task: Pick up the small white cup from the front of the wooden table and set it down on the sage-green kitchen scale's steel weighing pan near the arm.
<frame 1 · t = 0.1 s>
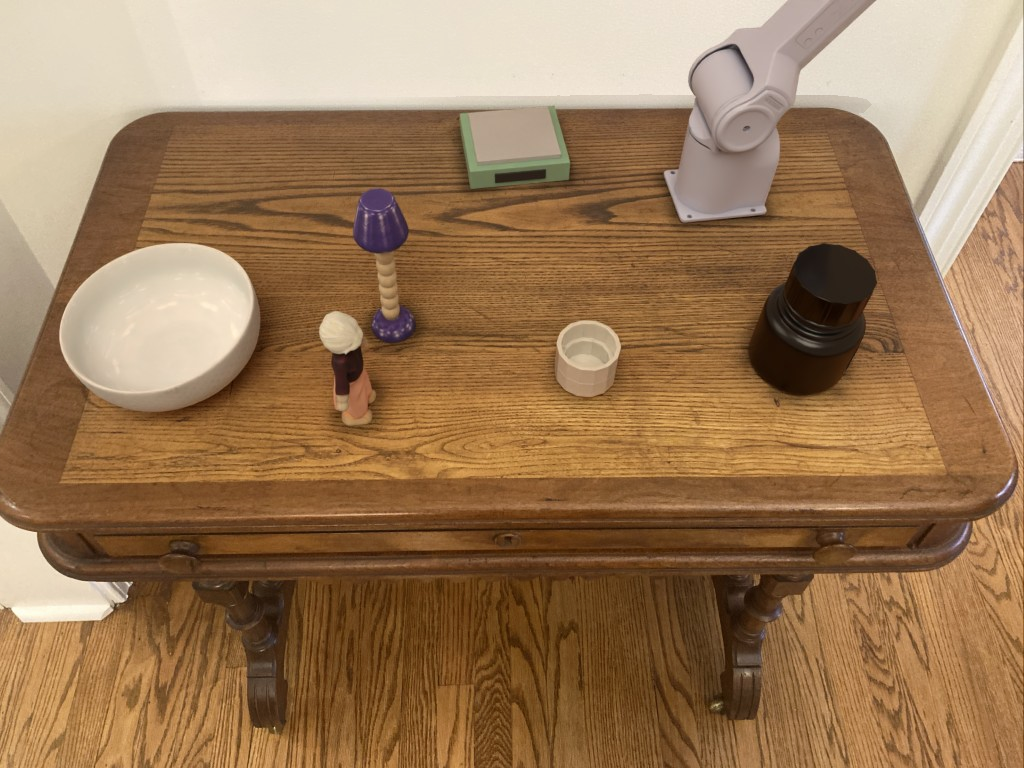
grandmother figurine: (358, 411, 77), on the table
white cup: (584, 375, 79), on the table
scale: (513, 155, 97), on the table
cereal bowl: (182, 361, 80), on the table
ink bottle: (794, 360, 81), on the table
toy lamp: (395, 329, 83), on the table
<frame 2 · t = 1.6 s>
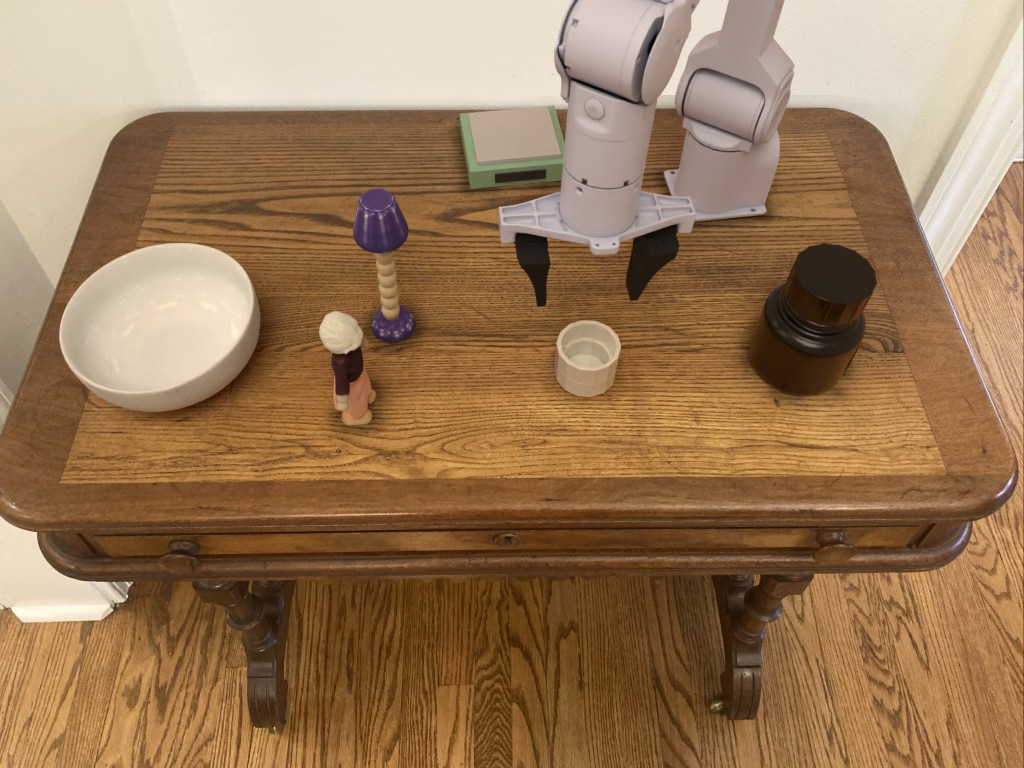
hand: (586, 294, 71), 11 cm above the table, tool pointing down, fingers open, 7 cm apart
nothing on the table moved.
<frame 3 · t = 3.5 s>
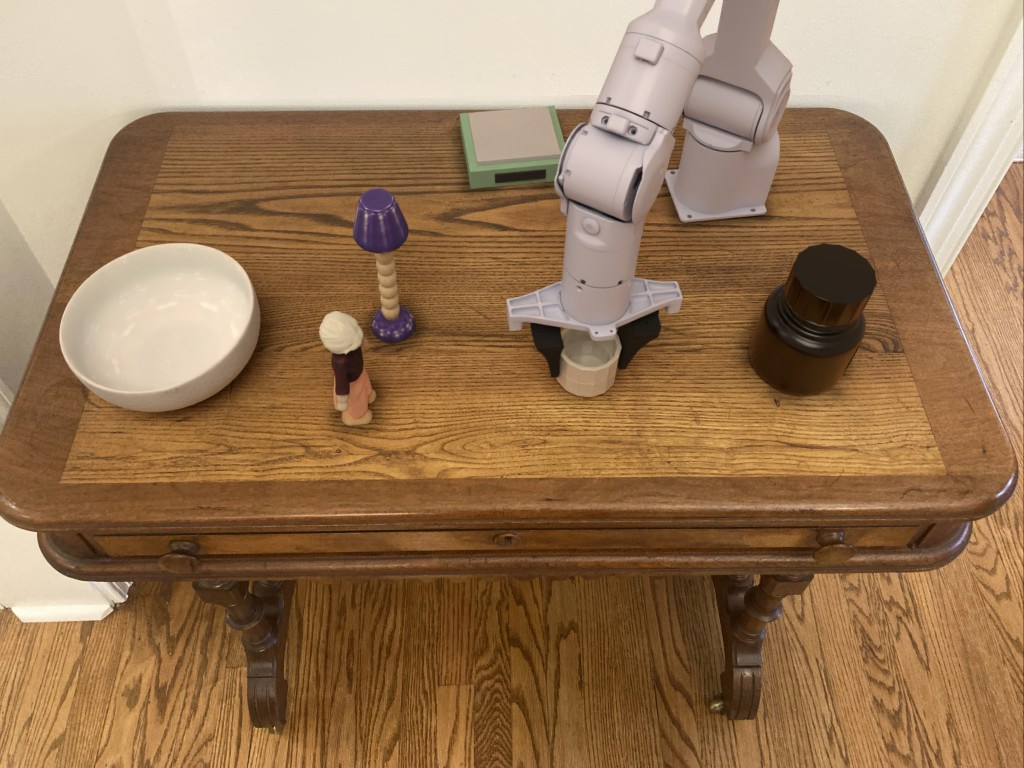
hand: (586, 364, 78), 2 cm above the table, tool pointing down, fingers closed on white cup, 5 cm apart
white cup: (585, 375, 79), on the table, touching gripper
everything else where it was.
when the fingers open (5 cm above the table, at t = 8.9 s): white cup stays where it is, resting on scale.
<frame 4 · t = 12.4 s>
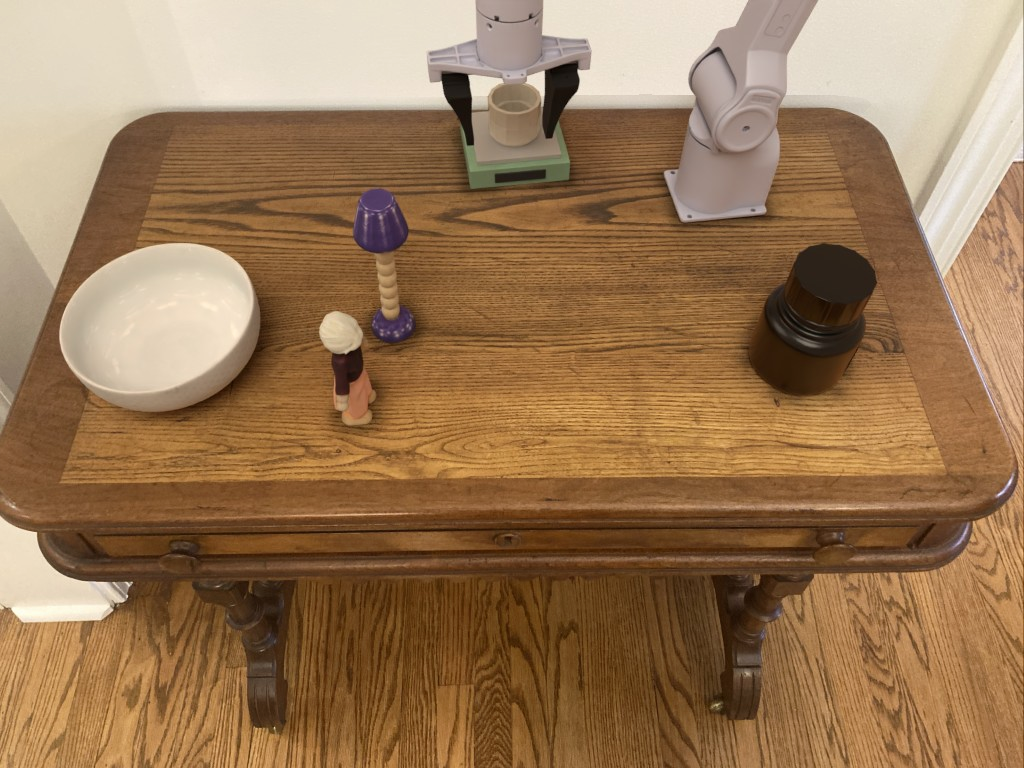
hand: (508, 135, 83), 10 cm above the table, tool pointing down, fingers open, 7 cm apart
white cup: (514, 132, 95), point 3 cm above the table, touching scale
everything else where it was.
at the end: white cup 0.0 cm off-centre on the scale, point 3.1 cm above the scale's base; white cup tilted 0°; the gripper is holding nothing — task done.
